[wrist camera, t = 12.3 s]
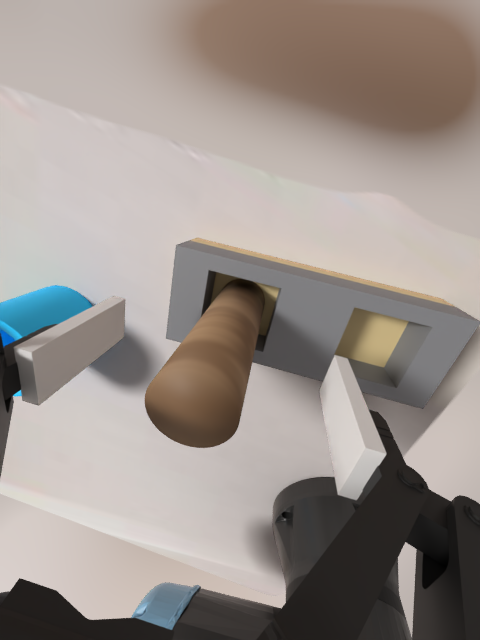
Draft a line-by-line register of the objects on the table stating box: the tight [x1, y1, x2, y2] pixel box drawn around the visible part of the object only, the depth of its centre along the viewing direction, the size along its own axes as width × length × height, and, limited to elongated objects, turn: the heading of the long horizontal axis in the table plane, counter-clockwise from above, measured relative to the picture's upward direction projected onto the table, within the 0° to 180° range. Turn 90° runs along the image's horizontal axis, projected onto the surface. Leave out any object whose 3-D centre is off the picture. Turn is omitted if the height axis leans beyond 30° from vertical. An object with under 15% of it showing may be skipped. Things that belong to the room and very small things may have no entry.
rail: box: [166, 238, 480, 409], centre depth 23 cm, size 22×8×5 cm, turn 78°
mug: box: [0, 285, 93, 396], centre depth 26 cm, size 12×8×8 cm
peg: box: [145, 279, 265, 448], centre depth 17 cm, size 4×4×14 cm
